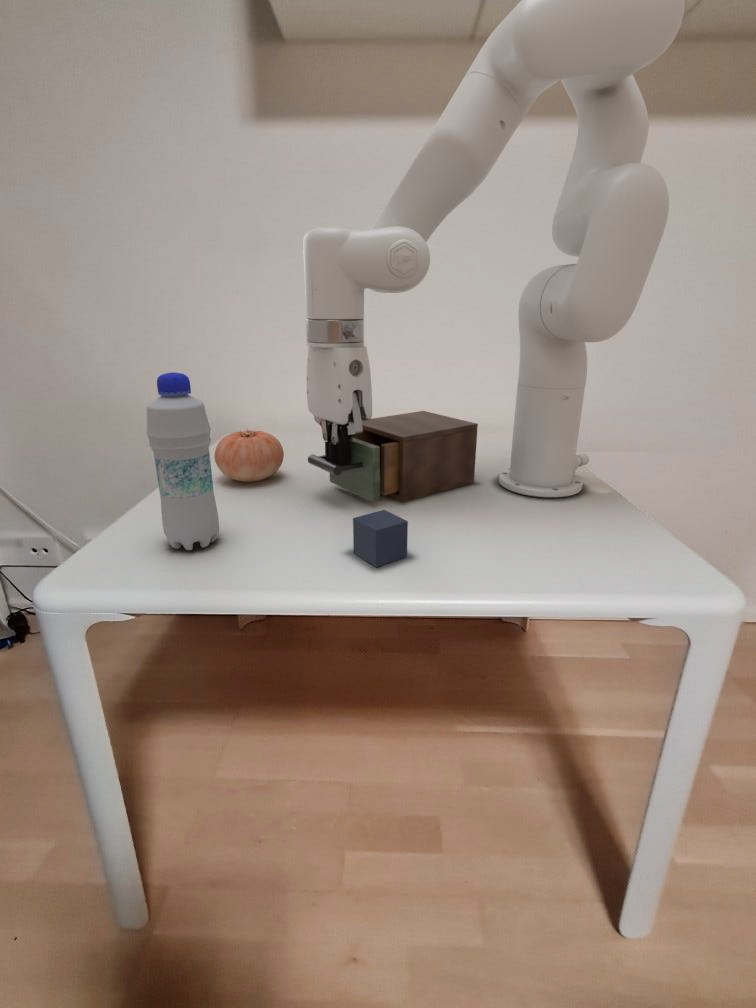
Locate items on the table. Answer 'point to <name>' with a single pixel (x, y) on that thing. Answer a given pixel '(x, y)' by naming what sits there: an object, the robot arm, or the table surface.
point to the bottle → (182, 463)
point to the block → (380, 537)
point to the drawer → (366, 466)
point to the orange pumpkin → (249, 455)
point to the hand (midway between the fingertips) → (338, 468)
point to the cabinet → (429, 451)
